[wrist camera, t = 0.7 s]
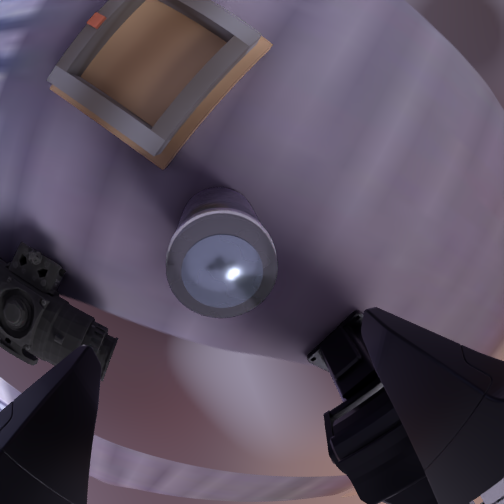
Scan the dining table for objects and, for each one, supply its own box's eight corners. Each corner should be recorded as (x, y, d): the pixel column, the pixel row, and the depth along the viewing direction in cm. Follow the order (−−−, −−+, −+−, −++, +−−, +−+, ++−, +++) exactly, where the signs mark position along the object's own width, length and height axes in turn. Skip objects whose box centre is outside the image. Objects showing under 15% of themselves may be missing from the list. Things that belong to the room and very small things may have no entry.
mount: (268, 51, 15) (281, 32, 11) (166, 167, 17) (155, 175, 14) (154, -20, 11) (144, -46, 8) (59, 90, 14) (30, 85, 10)
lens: (272, 217, 19) (303, 262, 13) (224, 272, 21) (232, 337, 14) (211, 169, 18) (211, 190, 11) (164, 231, 19) (142, 283, 12)
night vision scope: (131, 306, 23) (94, 404, 20) (-14, 220, 18) (-50, 310, 14) (133, 301, 16) (85, 437, 13) (-48, 187, 11) (-93, 303, 8)
